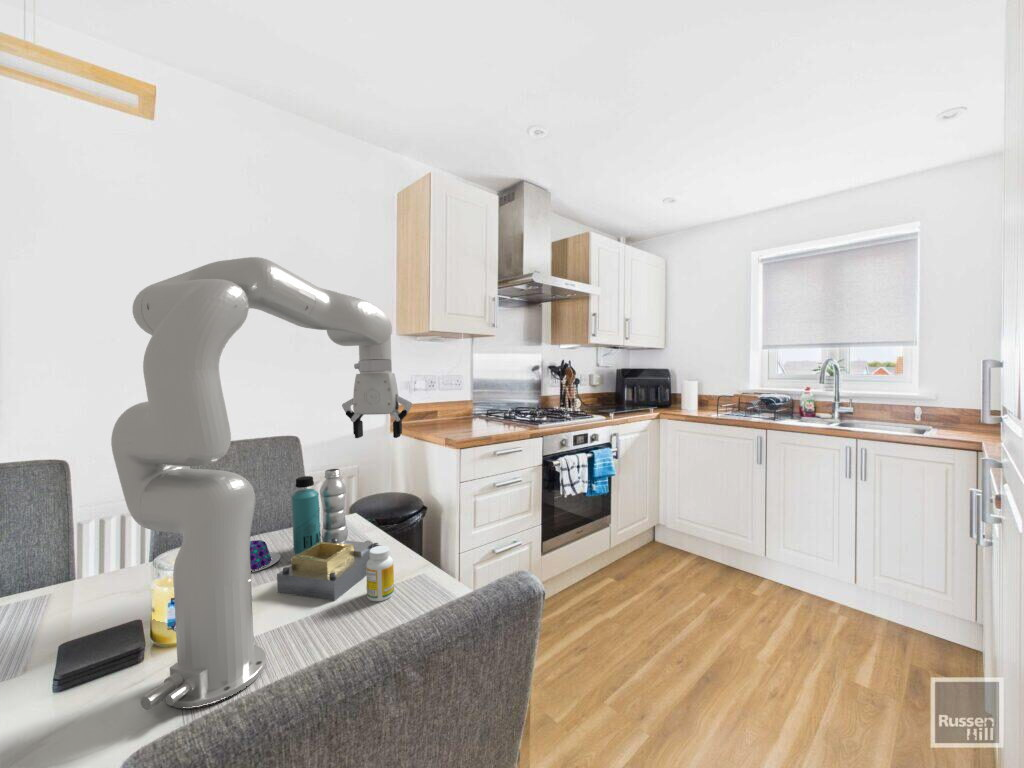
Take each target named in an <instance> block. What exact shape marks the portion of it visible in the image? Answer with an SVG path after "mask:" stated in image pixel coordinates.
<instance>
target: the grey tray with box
mask: <svg viewBox="0 0 1024 768" xmlns="http://www.w3.org/2000/svg"><path fill="white" fill-rule="evenodd" d="M376 546H384V545H383V544H379V542H374V543H373V542H372V541H371V540H366V541H354V540H346V541H345V540H344V541H343V542H342V541H337V539H332V542H323V541H321V542H319V543H317V544H315V545H313V546H311V547H310V548H308V549H306V550H304V551H303V552H301V553H299V554H295V555H294V556H292V557H291V560H290V561H291V565H290V566H286V567H283V568H282V570H281V571H280V572H278V573H276V581H277V582H276V584H277V588H276V589H277V594H283V595H291V596H298V597H306V598H313V599H320V600H327V601H337V599H339V598H340V597H342V596H343V594H345V593H346V592H347V591H349V590H351V589H352V588H353V587H354V586H355V585H356V584H357V583H359V582H360V581H362V579H364V578H365V577H366V564H367V562H368V560H369V559H370V557H369V552H370V549H372V548H373V547H376Z"/></svg>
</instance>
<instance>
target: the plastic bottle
mask: <svg viewBox="0 0 1024 768" xmlns="http://www.w3.org/2000/svg"><path fill="white" fill-rule="evenodd" d="M340 477H341V469H340V468H329V469H326V470H325V471H324V479H325V481H324V482H323V483H322V484H321V486H320V489H319V495H320V496H319V497H320V501H321V508H322V529H321V537H320V538H321V542H332V539H337V541H342V542H343V541H344V540H345V541H347V539H348V535H349V529H348V525H347V520H346V514H345V513H346V512H345V501H346V491H347V488H346V487H347V486H346V485H345V483H344V482H343V481H342V480H341V479H340Z"/></svg>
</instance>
